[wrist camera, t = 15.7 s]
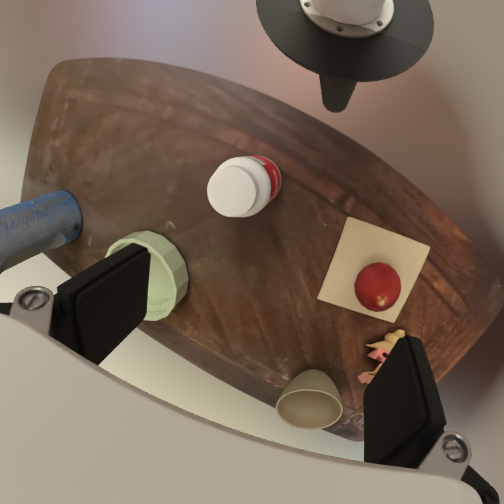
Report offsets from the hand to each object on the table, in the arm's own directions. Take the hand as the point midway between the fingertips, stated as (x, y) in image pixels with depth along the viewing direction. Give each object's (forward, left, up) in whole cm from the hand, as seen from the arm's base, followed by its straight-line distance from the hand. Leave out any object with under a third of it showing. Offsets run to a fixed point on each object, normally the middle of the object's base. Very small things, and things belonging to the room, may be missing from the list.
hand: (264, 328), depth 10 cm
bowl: (+18, -20, -28) cm, 39 cm away
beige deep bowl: (+28, +10, -28) cm, 41 cm away
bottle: (+14, -41, -28) cm, 52 cm away
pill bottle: (0, -7, -28) cm, 29 cm away
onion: (+7, +11, -28) cm, 31 cm away
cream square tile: (+7, +11, -28) cm, 31 cm away
